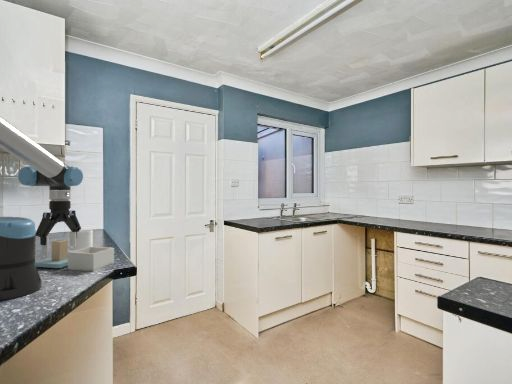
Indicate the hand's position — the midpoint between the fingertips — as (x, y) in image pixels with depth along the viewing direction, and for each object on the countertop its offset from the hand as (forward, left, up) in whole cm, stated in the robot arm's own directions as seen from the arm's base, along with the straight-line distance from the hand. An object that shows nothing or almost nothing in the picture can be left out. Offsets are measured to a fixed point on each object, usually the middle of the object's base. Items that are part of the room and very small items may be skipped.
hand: (59, 249), depth 120 cm
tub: (+1, -15, -7) cm, 16 cm away
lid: (0, 0, -6) cm, 6 cm away
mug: (+18, +7, -7) cm, 21 cm away
